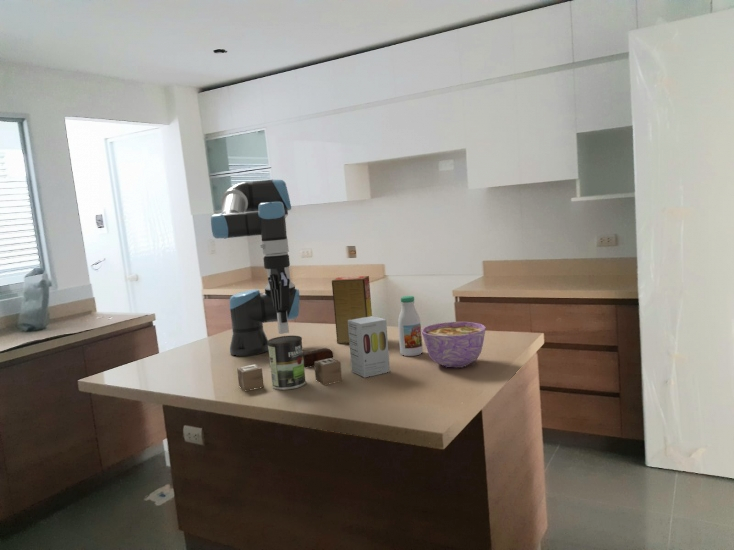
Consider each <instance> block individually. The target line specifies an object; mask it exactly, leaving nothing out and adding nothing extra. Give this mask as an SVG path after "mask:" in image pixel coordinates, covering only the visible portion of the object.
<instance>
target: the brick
mask: <svg viewBox="0 0 734 550" xmlns="http://www.w3.org/2000/svg"><path fill="white" fill-rule="evenodd" d="M329 358H333V359H334V352H333V351H332V349H330V348H327V347H325V348H318V349H314V350H310V351H309V350H307V351H304V352H303V360H304V368H305V367H308V368H311V367H310V366H312V367H315V365H314V362H315V361H320V360H325V359H329Z"/></svg>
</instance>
